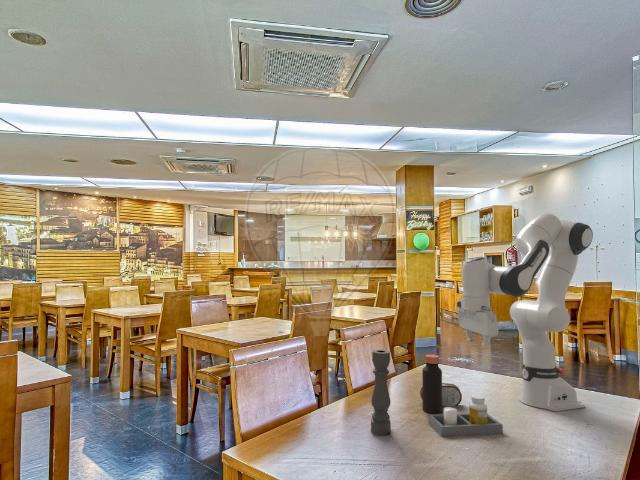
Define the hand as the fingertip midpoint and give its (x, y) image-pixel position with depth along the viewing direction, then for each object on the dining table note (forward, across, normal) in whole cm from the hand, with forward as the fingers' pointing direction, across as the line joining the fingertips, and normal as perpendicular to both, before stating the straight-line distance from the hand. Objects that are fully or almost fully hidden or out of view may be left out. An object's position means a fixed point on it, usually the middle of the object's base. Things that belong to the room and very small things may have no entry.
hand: (478, 345), depth 139 cm
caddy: (+25, -7, +10) cm, 28 cm away
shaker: (+24, -7, +14) cm, 29 cm away
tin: (+26, +15, +8) cm, 31 cm away
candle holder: (+24, -5, +37) cm, 44 cm away
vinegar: (+25, +9, +14) cm, 30 cm away
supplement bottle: (+25, -7, +5) cm, 26 cm away
